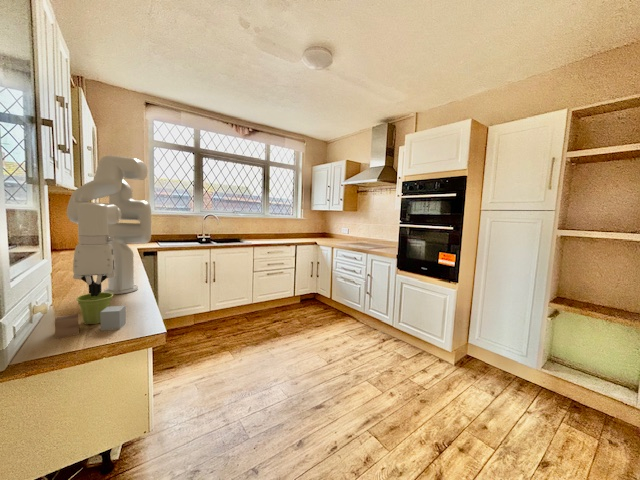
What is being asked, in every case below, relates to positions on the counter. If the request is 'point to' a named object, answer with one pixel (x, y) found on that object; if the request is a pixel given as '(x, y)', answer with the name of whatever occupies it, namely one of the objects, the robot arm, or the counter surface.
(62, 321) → the walnut block
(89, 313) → the plant pot
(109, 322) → the slate block
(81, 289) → the counter surface
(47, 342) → the counter surface
